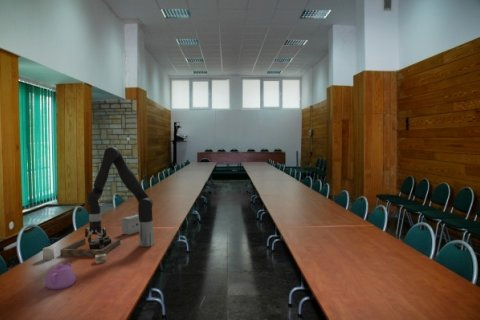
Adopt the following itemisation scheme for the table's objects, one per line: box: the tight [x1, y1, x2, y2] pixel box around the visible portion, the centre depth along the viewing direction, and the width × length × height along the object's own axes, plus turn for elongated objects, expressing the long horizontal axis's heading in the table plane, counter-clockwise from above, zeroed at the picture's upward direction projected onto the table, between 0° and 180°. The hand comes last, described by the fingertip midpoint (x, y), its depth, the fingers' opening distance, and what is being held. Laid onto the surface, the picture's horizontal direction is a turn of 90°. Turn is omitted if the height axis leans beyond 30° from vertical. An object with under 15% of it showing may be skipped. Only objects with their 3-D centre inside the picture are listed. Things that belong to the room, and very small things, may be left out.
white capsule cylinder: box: [42, 246, 55, 262], centre depth 212 cm, size 6×6×7 cm
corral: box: [60, 237, 122, 258], centre depth 229 cm, size 28×26×4 cm
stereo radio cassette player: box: [121, 210, 139, 236], centre depth 274 cm, size 21×8×20 cm, turn 149°
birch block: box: [94, 254, 107, 264], centre depth 207 cm, size 6×4×4 cm, turn 116°
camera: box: [88, 235, 112, 250], centre depth 228 cm, size 16×10×10 cm, turn 148°
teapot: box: [44, 262, 77, 291], centre depth 174 cm, size 14×20×11 cm
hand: (95, 242), depth 234 cm, fingers open, 8 cm apart
